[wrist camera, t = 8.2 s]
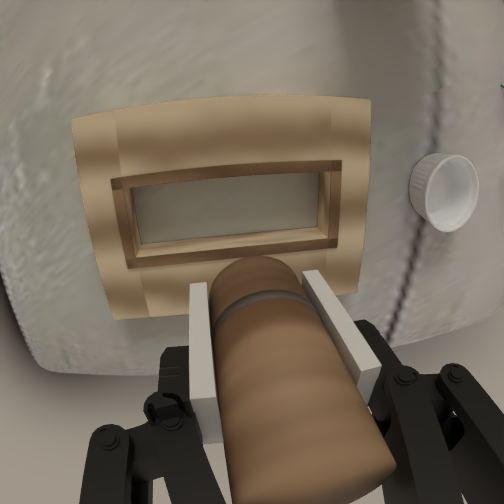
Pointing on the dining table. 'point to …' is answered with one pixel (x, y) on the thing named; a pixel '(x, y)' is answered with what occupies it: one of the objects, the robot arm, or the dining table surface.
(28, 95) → the dining table surface
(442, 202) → the ramekin
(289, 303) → the peg
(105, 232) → the seat board
